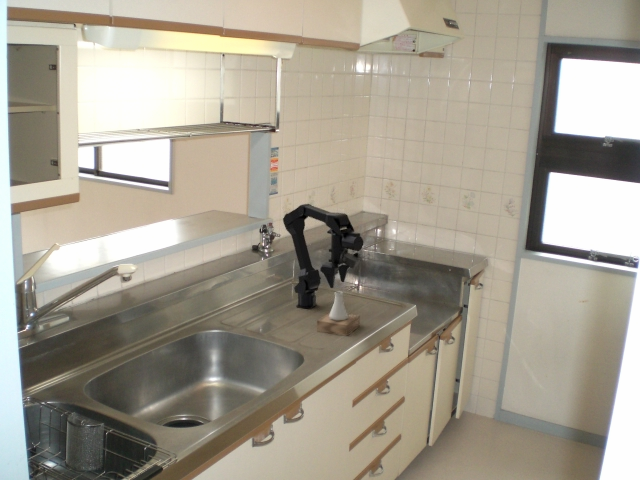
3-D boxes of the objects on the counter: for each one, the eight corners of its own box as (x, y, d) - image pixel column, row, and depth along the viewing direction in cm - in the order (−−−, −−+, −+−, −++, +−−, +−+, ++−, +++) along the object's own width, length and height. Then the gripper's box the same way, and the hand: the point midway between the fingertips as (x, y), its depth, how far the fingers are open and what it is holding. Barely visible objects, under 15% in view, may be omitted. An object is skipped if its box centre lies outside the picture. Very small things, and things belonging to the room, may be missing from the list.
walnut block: (317, 330, 257) (317, 320, 256) (331, 321, 267) (331, 311, 267) (346, 335, 252) (346, 325, 251) (359, 325, 262) (359, 315, 261)
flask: (335, 322, 254) (335, 296, 252) (325, 316, 260) (325, 291, 258) (352, 319, 258) (352, 293, 255) (341, 313, 264) (341, 288, 261)
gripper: (346, 254, 255) (345, 294, 259) (367, 244, 271) (366, 282, 275) (319, 250, 261) (318, 289, 264) (342, 240, 277) (341, 277, 280)
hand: (337, 284), depth 271 cm, fingers open, 9 cm apart
